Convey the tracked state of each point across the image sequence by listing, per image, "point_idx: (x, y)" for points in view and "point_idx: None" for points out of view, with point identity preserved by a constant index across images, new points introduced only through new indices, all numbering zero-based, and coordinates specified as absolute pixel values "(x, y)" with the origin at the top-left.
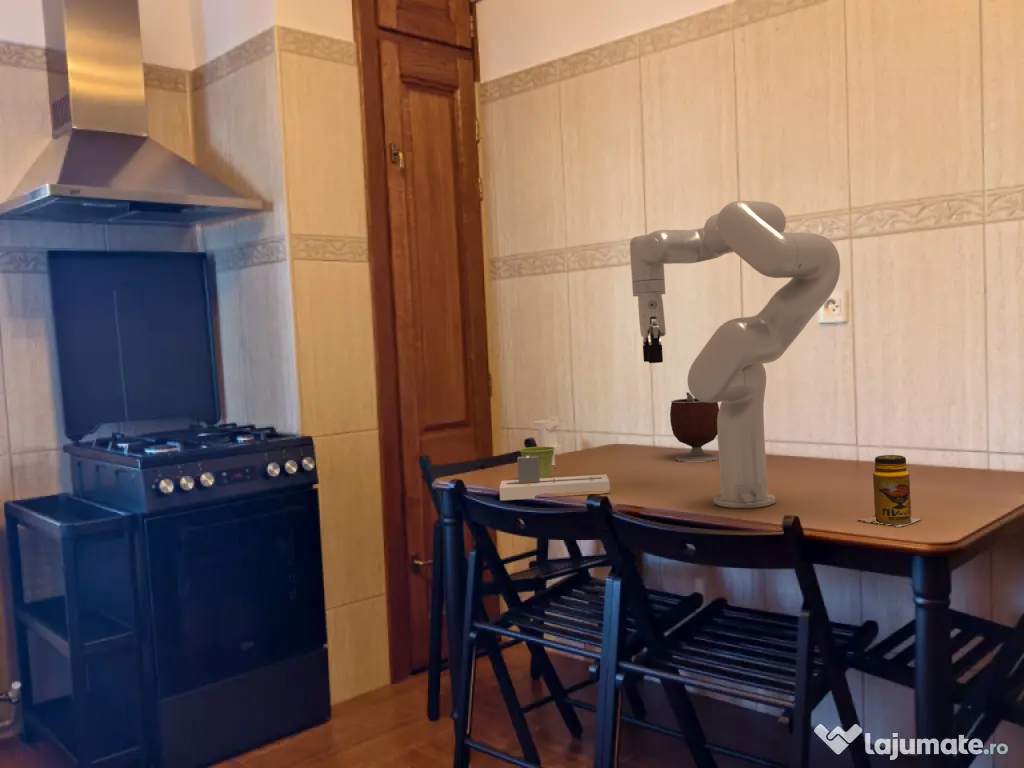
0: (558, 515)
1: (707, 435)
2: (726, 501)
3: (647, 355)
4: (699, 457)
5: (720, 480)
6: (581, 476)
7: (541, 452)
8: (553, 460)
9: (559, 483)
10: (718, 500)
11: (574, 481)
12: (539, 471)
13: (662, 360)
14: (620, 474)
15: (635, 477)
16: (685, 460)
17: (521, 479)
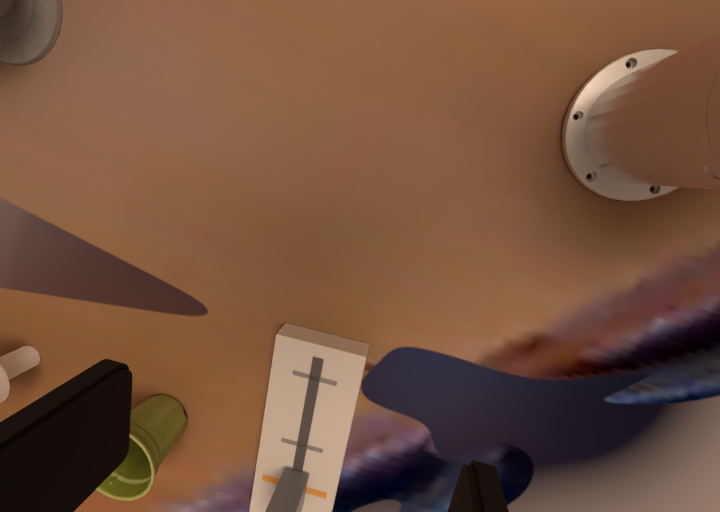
0: (519, 481)
1: None
2: (662, 186)
3: (87, 473)
4: (31, 2)
5: (643, 183)
6: (276, 385)
7: (153, 462)
8: (17, 359)
9: (335, 445)
10: (639, 198)
11: (328, 415)
12: (175, 435)
13: (496, 475)
14: (155, 251)
15: (206, 235)
16: (45, 49)
17: (301, 509)
